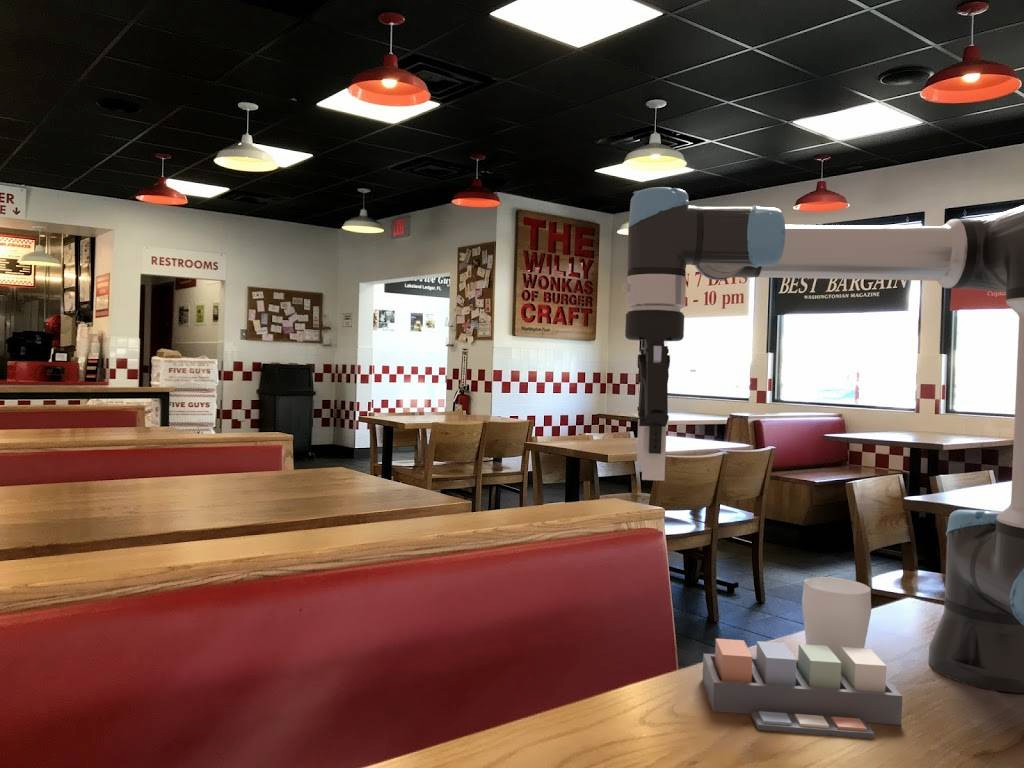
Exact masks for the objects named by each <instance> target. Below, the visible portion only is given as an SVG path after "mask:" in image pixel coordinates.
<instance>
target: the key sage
mask: <svg viewBox="0 0 1024 768" xmlns="http://www.w3.org/2000/svg"><path fill="white" fill-rule="evenodd" d="M797 652H798V653H797V654H798V655H797V660H798V671H799V673H800V674H801V676H802V677H803V679H804V680H805V682H806V683H807V685H808V686H809V687H818V688H832V689H840V681H841V662H840V661H839V659H838V658H837V657H836V656H835V655H834V653H833V652H832V651H831V650H830V648H829V647H828V646H823V645H808V644H806V643H805V644H804V643H798V651H797Z"/></svg>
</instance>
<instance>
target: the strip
mask: <svg viewBox="0 0 1024 768" xmlns="http://www.w3.org/2000/svg"><path fill="white" fill-rule="evenodd" d="M751 717H752V720H753V723H754V724H755V727H756V729H757V731H770V732H780V733H781V732H782V733H795V734H806V735H808V734H809V735H810V734H811V735H822V736H835V737H847V738H861V739H871V740H872V739H874V740H875V732H874V731H873V729H872V728H871V727H870V725H868V724H869V723H867V722H865V720H861V719H858V718H845V717H823V716H818V715H804V714H795V715H794V714H787V713H777V712H764V711H759V712H754V711H752V714H751Z"/></svg>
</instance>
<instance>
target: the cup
mask: <svg viewBox="0 0 1024 768" xmlns="http://www.w3.org/2000/svg"><path fill="white" fill-rule="evenodd" d="M871 591H872V590H871V588H870V586H868V585H867V584H865V583H861V582H858V581H856V580H851V579H847V578H839V577H831V576H816V577H809V578H805V579H804V581H803V591H802V597H801V606H802V615H803V616H802V617H803V626H804V635H805V644H808V645H823V646H828V647H829V648H830V650H831V651H832V652H833V653H834V655H835V656H836V657H837V658H838V659H839V661H840V657H841V647H854V648H865V645H866V639H867V636H868V632H869V631H868V630H869V625H870V620H871V616H872V604H871V603H872V601H871V600H872V599H871V597H872V595H871V594H872V593H871Z"/></svg>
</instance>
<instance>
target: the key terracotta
mask: <svg viewBox="0 0 1024 768" xmlns="http://www.w3.org/2000/svg"><path fill="white" fill-rule="evenodd" d="M714 649H715V653H714V654H715V667H716V669H717V672H718V674H719V677H720V679H721V681H733V682H747V683H751V682H752V657H753V655H752V653H751V652H750V650H749V647H748V646H747V643H746V642H745V640H742V639H728V638H715V648H714Z"/></svg>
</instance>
